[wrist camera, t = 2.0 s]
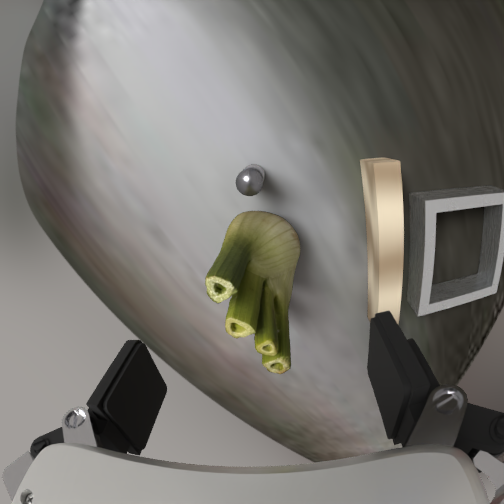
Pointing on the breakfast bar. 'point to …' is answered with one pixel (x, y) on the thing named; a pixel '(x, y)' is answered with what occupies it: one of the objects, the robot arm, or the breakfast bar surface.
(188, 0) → the breakfast bar surface
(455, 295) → the frame
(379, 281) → the door edge rail
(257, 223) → the fennel bulb
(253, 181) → the pegs
